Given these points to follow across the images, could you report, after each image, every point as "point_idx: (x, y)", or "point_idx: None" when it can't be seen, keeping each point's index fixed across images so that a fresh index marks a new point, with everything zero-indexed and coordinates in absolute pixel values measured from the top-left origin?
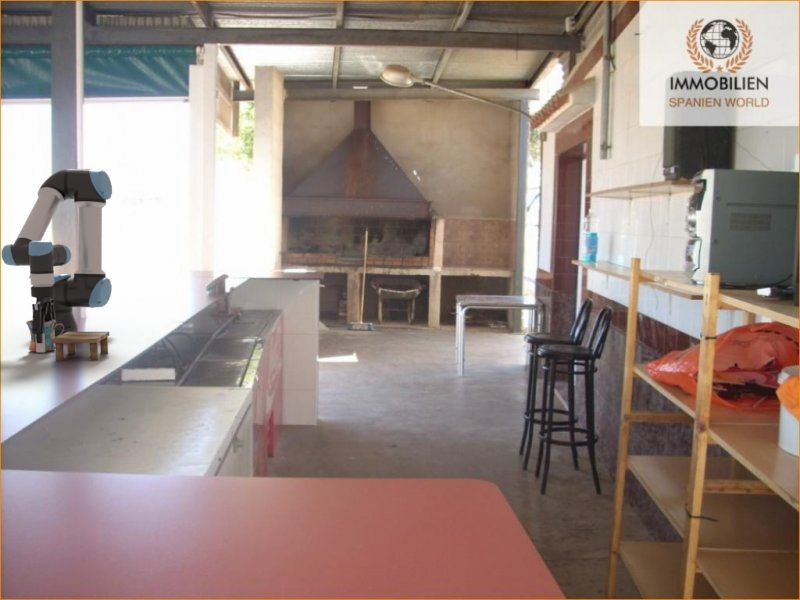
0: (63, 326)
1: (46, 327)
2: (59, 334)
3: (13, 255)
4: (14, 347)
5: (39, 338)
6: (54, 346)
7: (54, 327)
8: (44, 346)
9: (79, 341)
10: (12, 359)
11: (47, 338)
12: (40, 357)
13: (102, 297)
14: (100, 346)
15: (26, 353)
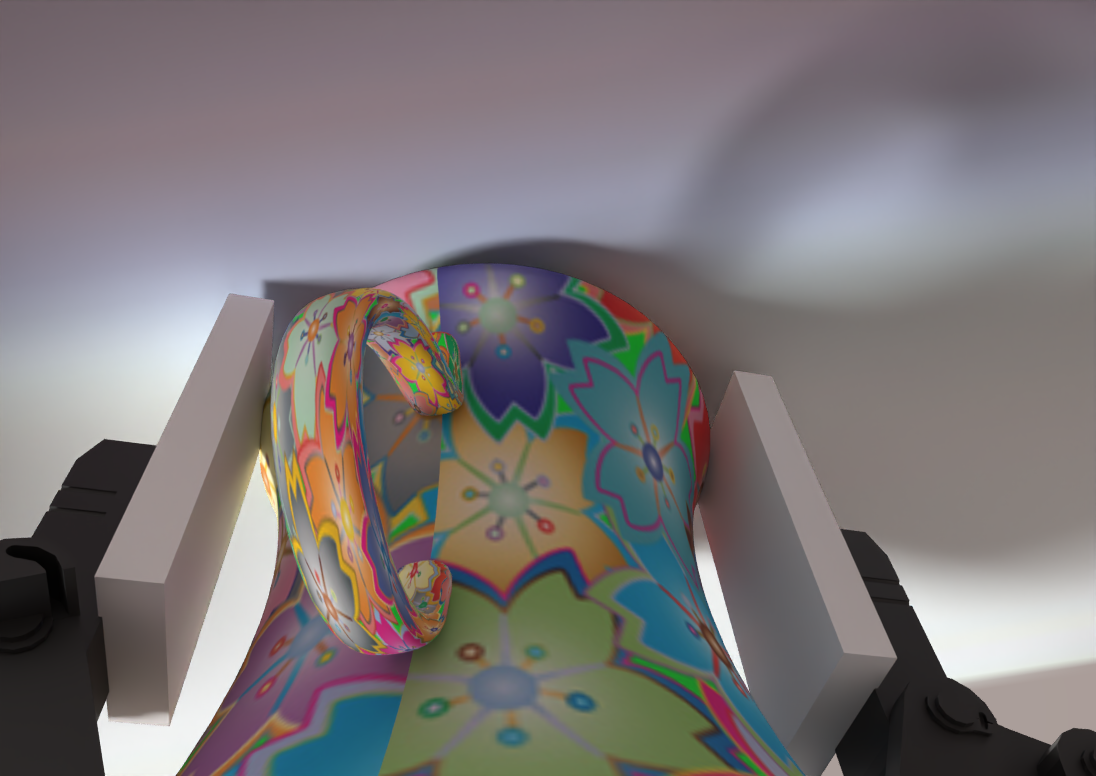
0: (356, 375)
1: (795, 762)
2: (396, 340)
3: None
4: (141, 765)
5: (907, 629)
6: (502, 292)
7: (438, 602)
8: (785, 441)
9: None
10: (1010, 639)
11: (654, 510)
12: (1073, 365)
13: None
14: None
15: None
